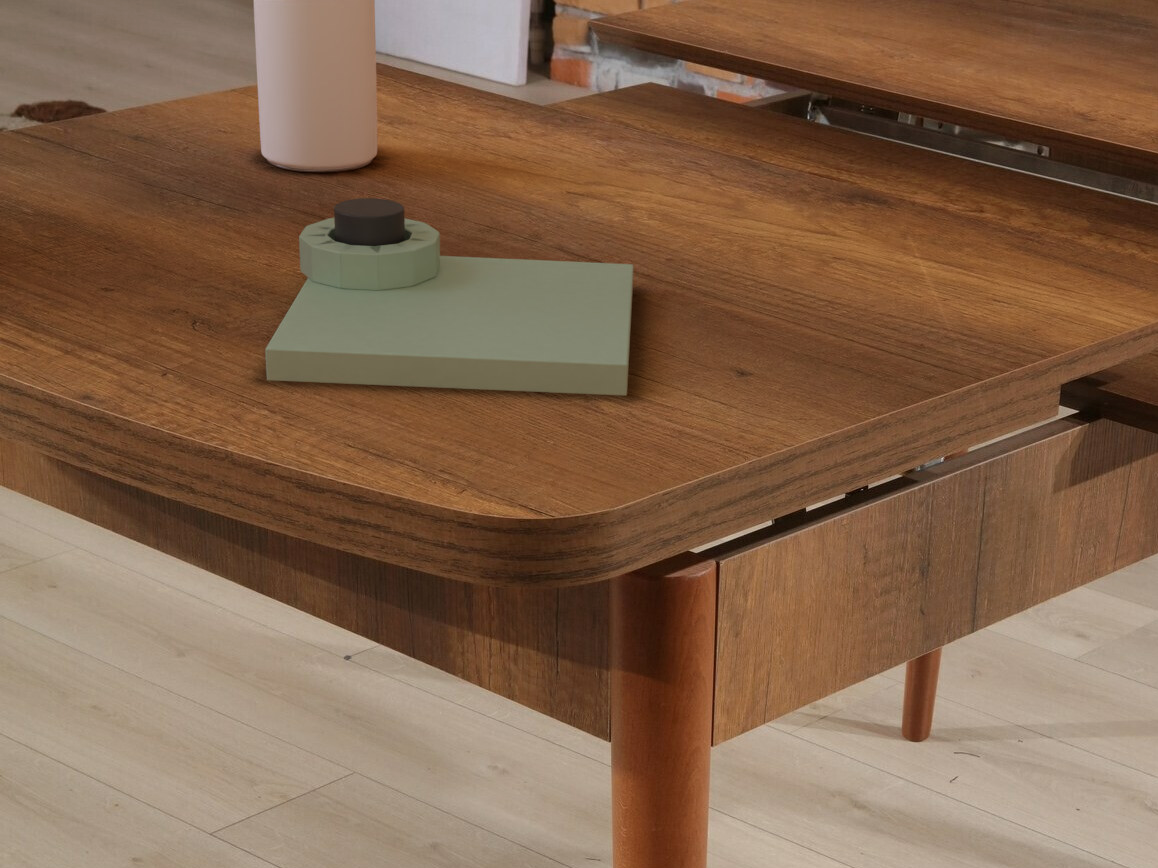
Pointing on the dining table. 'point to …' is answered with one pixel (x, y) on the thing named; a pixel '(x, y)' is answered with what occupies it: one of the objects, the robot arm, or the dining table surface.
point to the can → (316, 83)
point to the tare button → (369, 222)
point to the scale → (452, 319)
